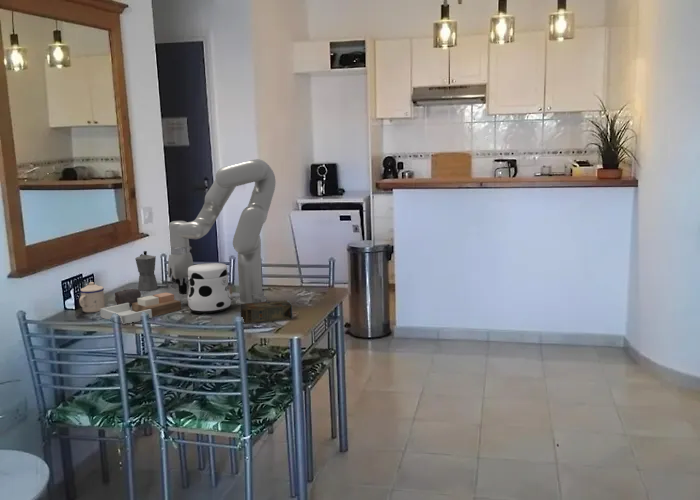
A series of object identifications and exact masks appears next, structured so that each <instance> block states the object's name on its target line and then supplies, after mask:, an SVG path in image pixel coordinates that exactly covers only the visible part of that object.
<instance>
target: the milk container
mask: <svg viewBox="0 0 700 500" xmlns="http://www.w3.org/2000/svg"><path fill="white" fill-rule="evenodd" d="M186 300H187V306H188V308H189V310H190V311H192V312H194V313H200V314H205V313H206V314H210V313H211V314H212V313H218V312H221V311H224V310H227V309H228V308H229V307H230V306H231V303H232V294H231V290H230V288H229V275H228V266H227V264H225V263H221V262H219V263H218V262H210V263H209V262H207V263H198V264H193V266H190V267H189V268H188V291H187V298H186Z"/></svg>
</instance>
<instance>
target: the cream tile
mask: <svg viewBox="0 0 700 500" xmlns="http://www.w3.org/2000/svg"><path fill="white" fill-rule="evenodd" d="M137 300H138V305H142V306H145V307H146V306H151V305H155V304H159V298H158V297H155V296H153V295H147V296H142V297H140V298H137Z"/></svg>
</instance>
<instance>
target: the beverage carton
mask: <svg viewBox="0 0 700 500" xmlns="http://www.w3.org/2000/svg"><path fill="white" fill-rule="evenodd" d="M239 311H240V313H239V314H240V318H241V317H243V319H244V322H245V323H244V324H252V322H256V323H261V322H260V321H268V322H275V321H274V320H279V321H287V320H286V319H290V320H293V305H292V303H291V302H290V300H288V299H286V300H285V299H284V300H279V301H275V300H274V301H266V302H258V303H244V304H241V305H240V310H239Z"/></svg>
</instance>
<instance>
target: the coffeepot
mask: <svg viewBox="0 0 700 500" xmlns="http://www.w3.org/2000/svg"><path fill="white" fill-rule="evenodd" d="M147 252H148V251H146V250H144V251H143V253H141V254H139V256H137V257H135V263H136V266H137V267H136V268H137V272H138V273H139V274H138V275H139V276H138V285H137V290H139V291H140V292H141V291H142V292H145V291H146V292H147V291H148V292H150V291H155V290H157V289H158V287H159V285H158V282H157V278H156V274H155V270H156V255H151V254H148V253H147Z"/></svg>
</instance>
